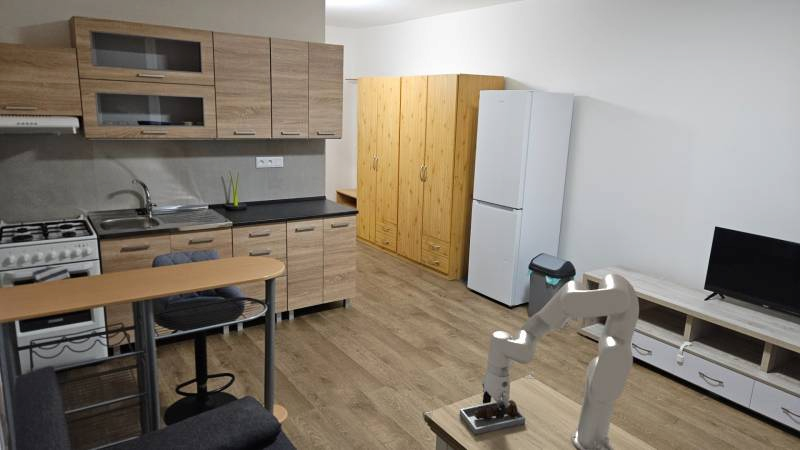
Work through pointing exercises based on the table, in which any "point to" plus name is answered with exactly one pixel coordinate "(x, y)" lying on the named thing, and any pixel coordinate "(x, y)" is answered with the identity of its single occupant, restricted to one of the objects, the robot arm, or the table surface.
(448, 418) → the table surface
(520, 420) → the parts tray
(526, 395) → the table surface
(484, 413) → the bolt
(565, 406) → the table surface
